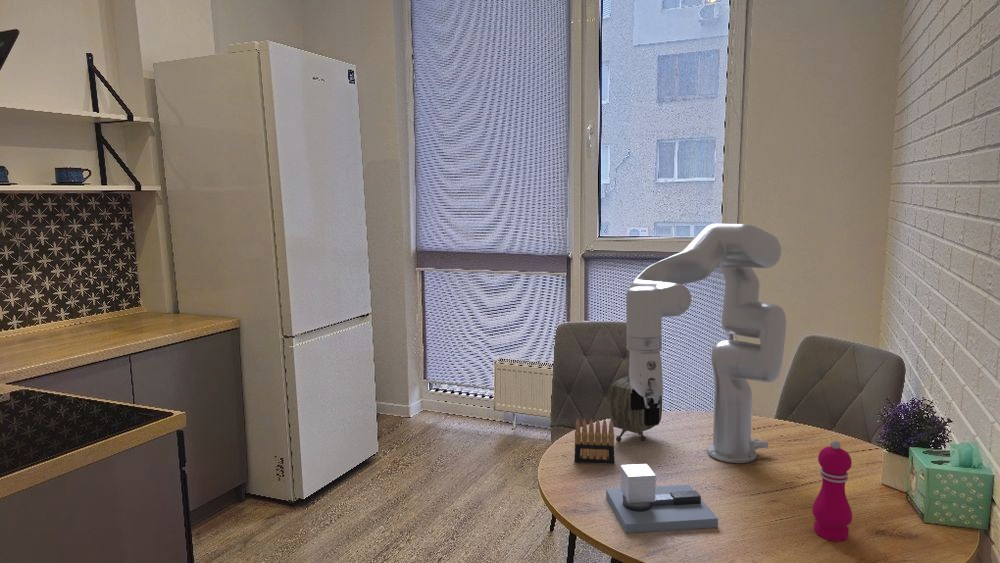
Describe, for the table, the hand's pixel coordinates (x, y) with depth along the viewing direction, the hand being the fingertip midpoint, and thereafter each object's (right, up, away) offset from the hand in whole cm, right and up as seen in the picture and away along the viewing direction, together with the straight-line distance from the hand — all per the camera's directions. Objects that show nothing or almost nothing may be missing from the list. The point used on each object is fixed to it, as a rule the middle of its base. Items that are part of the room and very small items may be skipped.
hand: (644, 416), depth 137 cm
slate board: (+3, -21, 0) cm, 21 cm away
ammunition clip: (-7, -18, +27) cm, 33 cm away
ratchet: (+4, -19, 0) cm, 20 cm away
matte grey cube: (-2, -17, -1) cm, 17 cm away
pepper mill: (+36, -22, -10) cm, 44 cm away
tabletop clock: (+8, -16, +42) cm, 46 cm away
